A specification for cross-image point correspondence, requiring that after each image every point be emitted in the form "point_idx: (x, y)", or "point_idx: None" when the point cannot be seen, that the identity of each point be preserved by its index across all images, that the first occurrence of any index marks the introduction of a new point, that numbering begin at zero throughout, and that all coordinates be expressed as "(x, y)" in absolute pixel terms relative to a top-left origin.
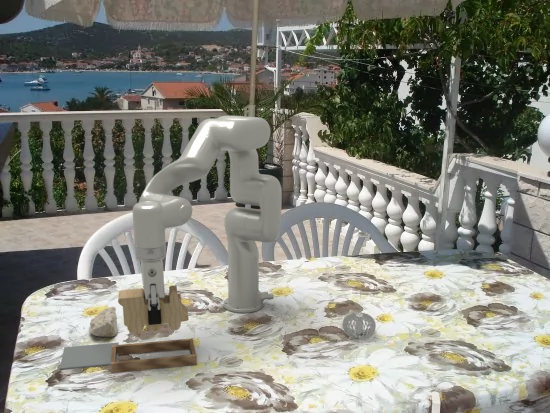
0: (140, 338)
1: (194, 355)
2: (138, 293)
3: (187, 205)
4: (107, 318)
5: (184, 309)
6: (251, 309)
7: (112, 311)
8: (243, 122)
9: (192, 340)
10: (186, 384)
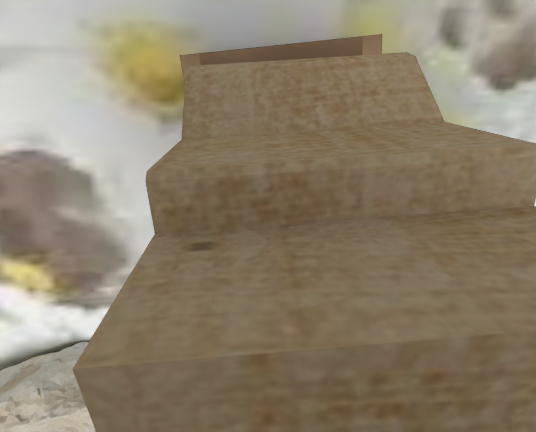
0: (118, 270)
1: (374, 46)
2: None
3: None
4: (78, 421)
5: (313, 95)
6: None
7: (8, 418)
8: None
9: (205, 56)
10: (514, 88)
